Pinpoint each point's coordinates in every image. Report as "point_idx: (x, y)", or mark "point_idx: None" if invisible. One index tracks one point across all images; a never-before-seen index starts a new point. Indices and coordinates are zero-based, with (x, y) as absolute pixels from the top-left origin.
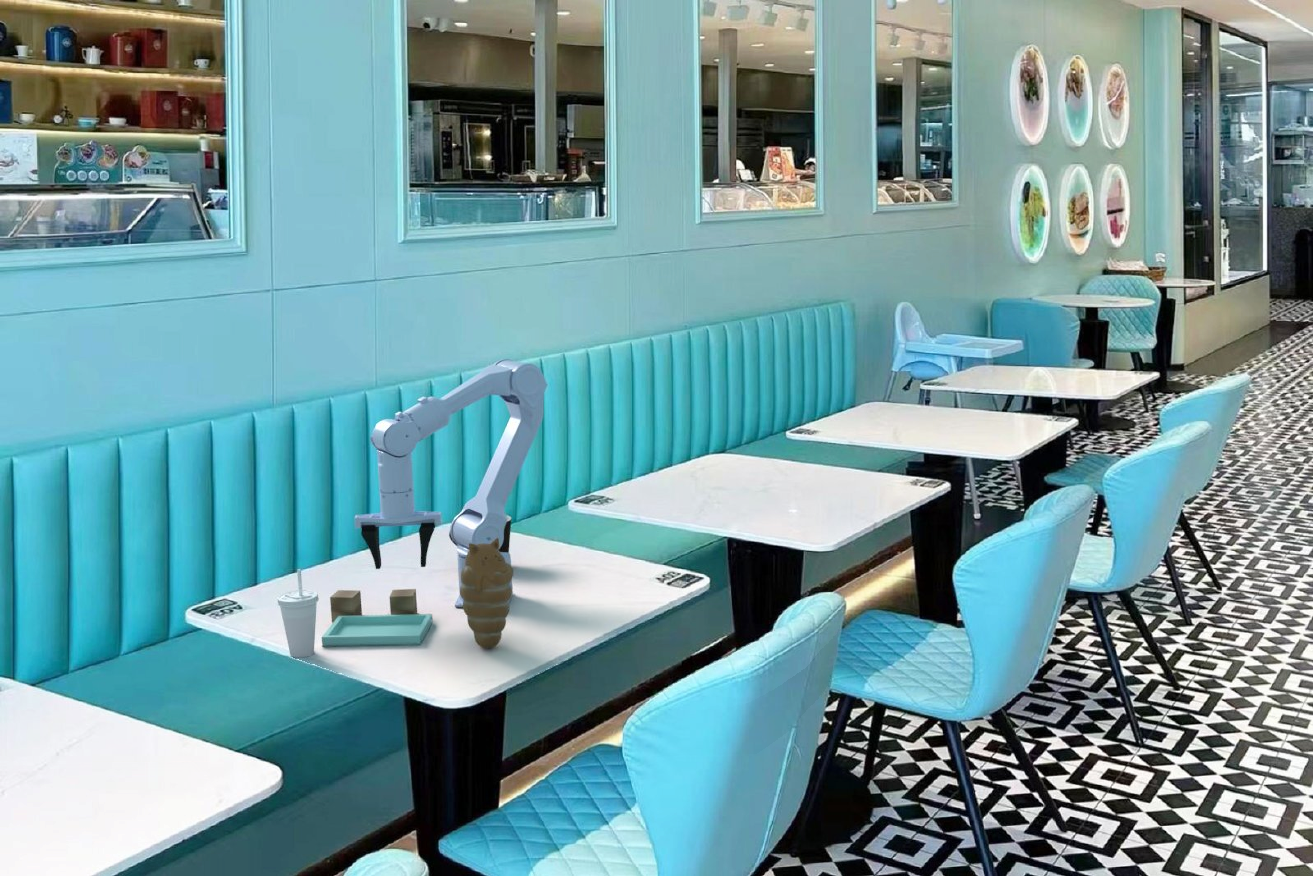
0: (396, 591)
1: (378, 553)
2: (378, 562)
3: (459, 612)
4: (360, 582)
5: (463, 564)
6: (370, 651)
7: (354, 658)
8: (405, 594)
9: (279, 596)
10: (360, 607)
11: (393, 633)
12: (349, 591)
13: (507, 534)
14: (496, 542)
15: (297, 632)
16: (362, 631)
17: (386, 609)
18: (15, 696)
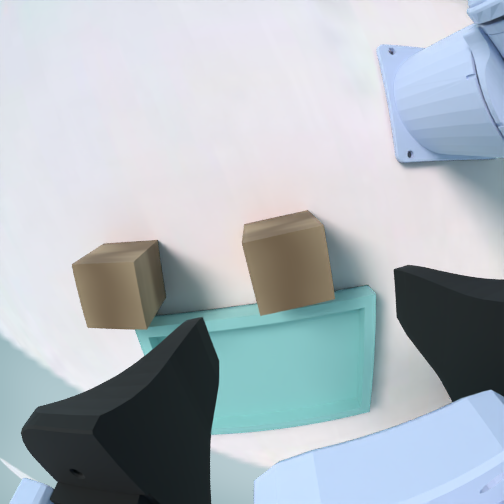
0: (263, 261)
1: (202, 396)
2: (216, 388)
3: (413, 196)
4: (67, 4)
5: (490, 143)
6: (280, 432)
7: (265, 453)
8: (306, 289)
9: None
10: (151, 254)
11: (299, 369)
12: (106, 273)
13: None
14: None
15: None
16: (223, 366)
17: (205, 185)
18: (12, 470)
